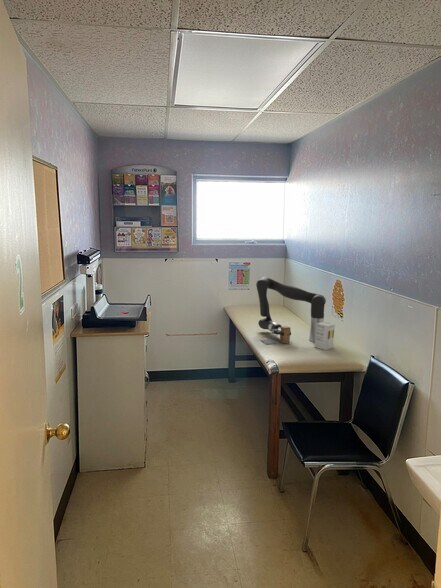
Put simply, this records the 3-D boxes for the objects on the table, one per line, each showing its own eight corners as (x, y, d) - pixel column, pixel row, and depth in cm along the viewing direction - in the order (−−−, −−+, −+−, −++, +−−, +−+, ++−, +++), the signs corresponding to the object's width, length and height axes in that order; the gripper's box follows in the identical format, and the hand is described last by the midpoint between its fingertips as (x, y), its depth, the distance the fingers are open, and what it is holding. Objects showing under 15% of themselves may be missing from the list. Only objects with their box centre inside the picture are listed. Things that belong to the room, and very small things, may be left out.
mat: (260, 340, 309) (260, 339, 309) (272, 339, 312) (272, 339, 312) (266, 344, 300) (266, 343, 300) (279, 343, 303) (279, 342, 303)
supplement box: (326, 350, 292) (328, 325, 289) (314, 347, 299) (316, 323, 296) (333, 347, 299) (335, 323, 296) (321, 344, 305) (323, 321, 303)
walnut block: (279, 341, 308) (280, 326, 306) (285, 341, 310) (286, 325, 308) (283, 343, 303) (284, 328, 301) (289, 342, 305) (290, 327, 303)
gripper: (267, 323, 315) (278, 329, 300) (284, 322, 320) (296, 328, 305) (266, 333, 316) (277, 340, 301) (283, 332, 322) (295, 338, 306)
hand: (287, 334), depth 303 cm, fingers closed on walnut block, 5 cm apart
